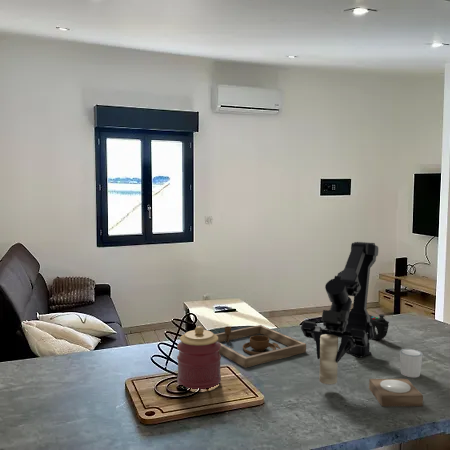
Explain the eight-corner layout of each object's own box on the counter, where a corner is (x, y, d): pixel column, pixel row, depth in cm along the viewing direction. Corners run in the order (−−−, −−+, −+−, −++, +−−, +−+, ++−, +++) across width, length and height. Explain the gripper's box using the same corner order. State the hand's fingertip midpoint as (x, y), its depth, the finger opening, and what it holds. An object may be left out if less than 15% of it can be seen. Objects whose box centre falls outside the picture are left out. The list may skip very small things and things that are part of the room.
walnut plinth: (369, 388, 140) (369, 377, 140) (406, 388, 140) (406, 377, 140) (382, 406, 129) (382, 394, 129) (422, 406, 129) (423, 394, 129)
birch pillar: (315, 379, 139) (316, 336, 138) (328, 375, 142) (329, 333, 140) (328, 386, 135) (329, 341, 133) (340, 381, 137) (341, 337, 136)
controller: (381, 343, 179) (382, 317, 178) (359, 334, 190) (360, 309, 189) (390, 342, 180) (391, 316, 179) (367, 332, 192) (368, 308, 191)
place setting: (243, 360, 163) (243, 343, 162) (221, 342, 181) (221, 326, 181) (288, 353, 169) (288, 337, 169) (263, 336, 188) (263, 322, 187)
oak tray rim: (203, 344, 177) (203, 336, 177) (260, 332, 192) (260, 324, 191) (245, 367, 155) (245, 358, 155) (306, 352, 170) (306, 343, 169)
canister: (226, 378, 147) (227, 322, 145) (211, 396, 134) (212, 335, 133) (187, 373, 151) (187, 318, 149) (169, 390, 139) (169, 330, 137)
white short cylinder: (424, 379, 147) (425, 357, 146) (400, 377, 148) (401, 355, 148) (419, 370, 154) (420, 349, 153) (397, 368, 155) (398, 347, 155)
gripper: (303, 294, 144) (289, 341, 135) (366, 302, 135) (355, 353, 126) (312, 313, 151) (298, 359, 143) (372, 322, 142) (361, 371, 134)
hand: (327, 360), depth 136 cm, fingers closed on birch pillar, 5 cm apart
